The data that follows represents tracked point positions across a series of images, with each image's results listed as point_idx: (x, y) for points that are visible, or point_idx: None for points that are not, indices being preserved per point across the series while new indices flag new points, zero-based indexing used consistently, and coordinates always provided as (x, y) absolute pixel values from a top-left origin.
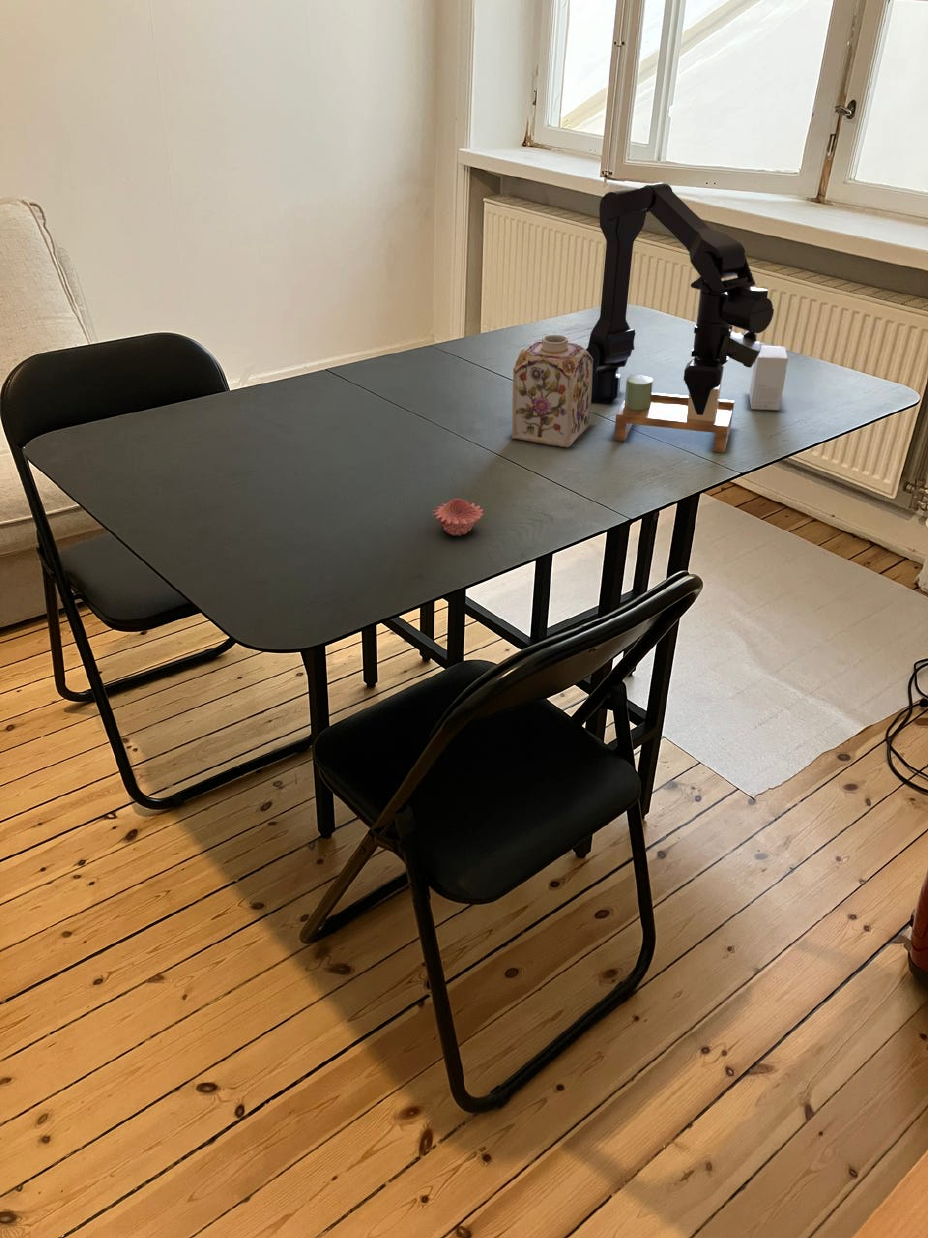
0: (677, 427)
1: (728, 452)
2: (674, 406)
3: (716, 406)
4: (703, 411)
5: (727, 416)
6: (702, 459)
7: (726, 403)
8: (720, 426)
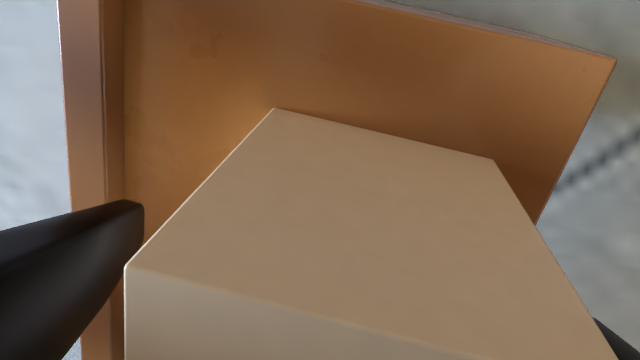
0: None
1: (532, 5)
2: None
3: (532, 223)
4: (625, 343)
5: (369, 33)
6: (614, 165)
7: (112, 17)
8: (584, 118)
